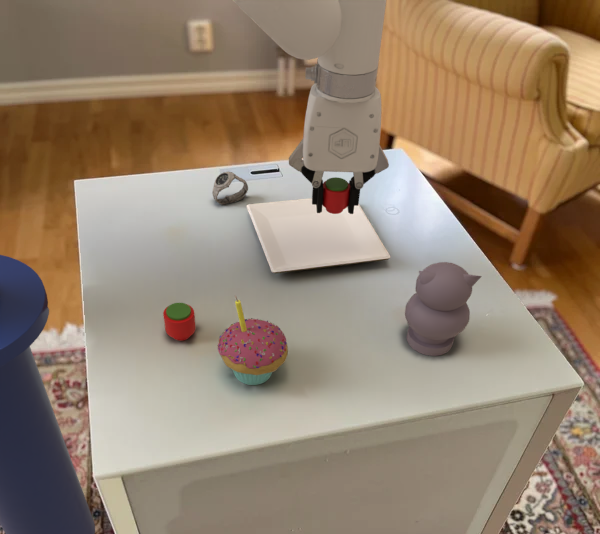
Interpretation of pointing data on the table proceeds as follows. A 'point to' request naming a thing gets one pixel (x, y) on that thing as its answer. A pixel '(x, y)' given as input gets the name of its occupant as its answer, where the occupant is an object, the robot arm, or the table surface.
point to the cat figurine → (438, 308)
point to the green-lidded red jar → (179, 321)
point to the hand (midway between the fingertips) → (334, 207)
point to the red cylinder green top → (336, 195)
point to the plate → (314, 236)
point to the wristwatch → (224, 182)
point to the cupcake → (252, 348)
